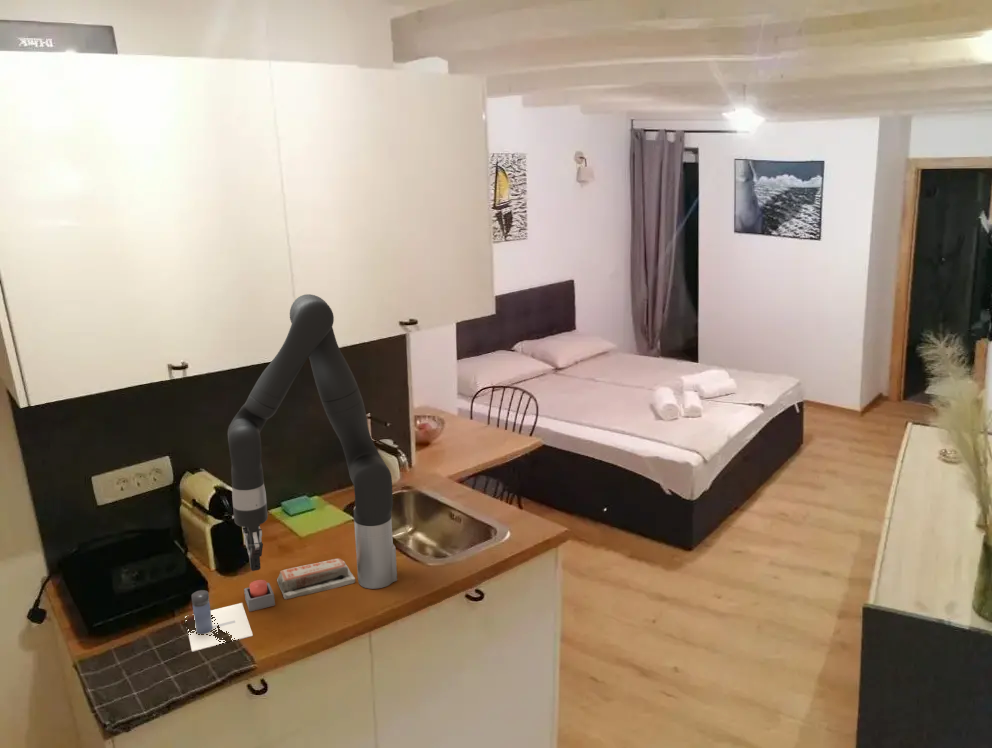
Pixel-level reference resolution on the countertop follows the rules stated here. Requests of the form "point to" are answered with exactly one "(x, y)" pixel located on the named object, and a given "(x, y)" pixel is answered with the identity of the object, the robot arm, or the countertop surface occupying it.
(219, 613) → the drawing pad
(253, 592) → the button
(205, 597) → the marker
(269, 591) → the button base
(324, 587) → the packaged product
